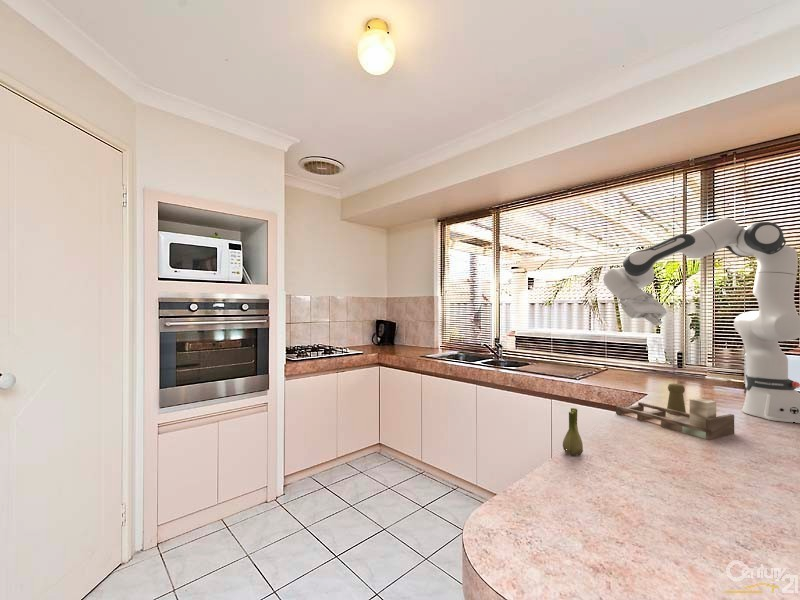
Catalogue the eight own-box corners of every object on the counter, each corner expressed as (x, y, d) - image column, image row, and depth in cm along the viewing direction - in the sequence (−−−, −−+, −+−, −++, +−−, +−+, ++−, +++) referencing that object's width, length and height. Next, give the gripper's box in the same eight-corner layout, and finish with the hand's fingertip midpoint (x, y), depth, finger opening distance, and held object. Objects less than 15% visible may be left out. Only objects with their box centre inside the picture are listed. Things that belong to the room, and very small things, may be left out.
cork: (679, 411, 146) (679, 382, 147) (690, 415, 140) (690, 385, 140) (663, 410, 147) (662, 382, 147) (672, 415, 141) (672, 385, 141)
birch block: (716, 426, 121) (716, 401, 121) (707, 428, 119) (707, 402, 119) (698, 422, 125) (698, 397, 125) (689, 424, 123) (689, 399, 123)
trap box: (734, 433, 120) (734, 414, 120) (709, 439, 114) (709, 419, 114) (639, 410, 147) (639, 394, 147) (615, 413, 141) (615, 397, 142)
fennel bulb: (573, 458, 99) (573, 412, 99) (557, 452, 103) (557, 407, 103) (587, 454, 102) (587, 409, 102) (571, 448, 106) (572, 405, 106)
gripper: (622, 293, 150) (647, 318, 141) (654, 294, 158) (680, 318, 149) (611, 304, 154) (635, 330, 145) (643, 304, 162) (668, 329, 153)
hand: (658, 324), depth 147 cm, fingers closed
